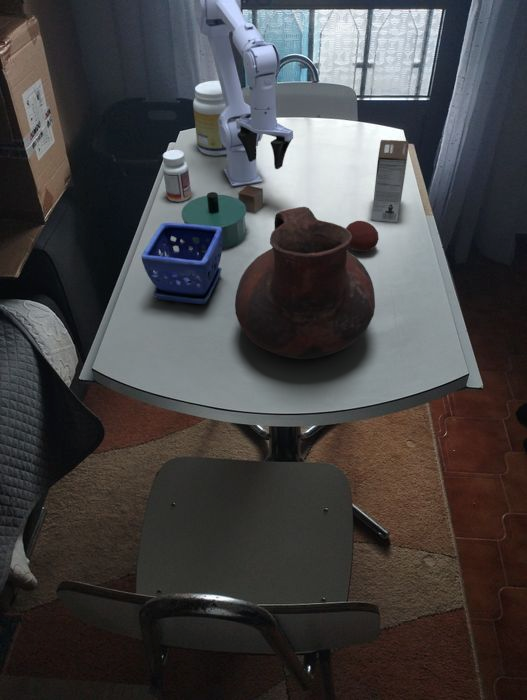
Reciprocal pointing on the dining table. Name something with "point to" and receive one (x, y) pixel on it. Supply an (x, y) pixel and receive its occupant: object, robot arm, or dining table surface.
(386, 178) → the coffee box
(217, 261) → the flower pot
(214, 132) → the supplement tub
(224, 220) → the tin lid
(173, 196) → the pill bottle
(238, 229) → the tin
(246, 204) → the block
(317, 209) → the dining table surface
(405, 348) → the dining table surface
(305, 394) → the dining table surface
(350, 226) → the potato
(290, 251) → the jug
